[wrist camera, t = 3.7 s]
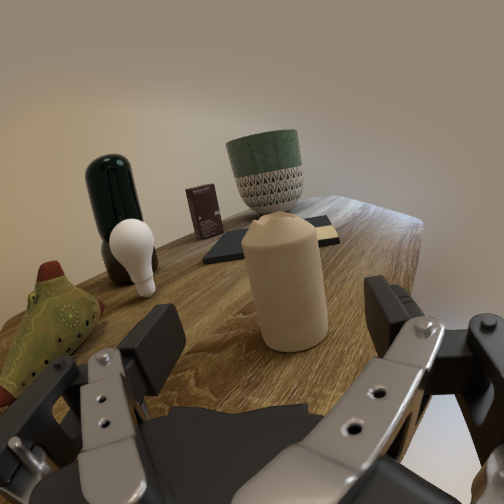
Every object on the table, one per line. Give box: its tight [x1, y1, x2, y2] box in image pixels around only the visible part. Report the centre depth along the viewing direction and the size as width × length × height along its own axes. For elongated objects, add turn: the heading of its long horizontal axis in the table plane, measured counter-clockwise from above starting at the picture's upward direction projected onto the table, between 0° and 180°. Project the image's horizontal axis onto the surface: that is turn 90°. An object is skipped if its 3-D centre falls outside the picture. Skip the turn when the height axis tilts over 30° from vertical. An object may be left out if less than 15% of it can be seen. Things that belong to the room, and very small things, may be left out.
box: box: [185, 184, 224, 239], centre depth 68 cm, size 6×4×12 cm
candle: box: [241, 211, 328, 352], centre depth 22 cm, size 6×6×10 cm
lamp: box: [85, 154, 158, 284], centre depth 47 cm, size 10×10×22 cm
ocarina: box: [0, 261, 105, 408], centre depth 23 cm, size 20×5×10 cm, turn 168°
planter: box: [226, 129, 303, 215], centre depth 78 cm, size 20×20×21 cm
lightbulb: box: [109, 219, 156, 298], centre depth 37 cm, size 6×6×11 cm
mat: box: [203, 215, 340, 264], centre depth 55 cm, size 22×18×1 cm
